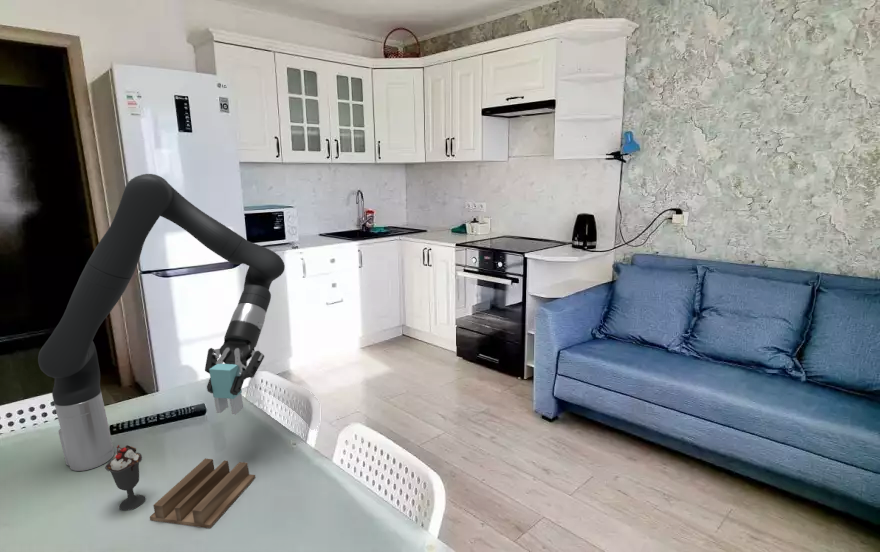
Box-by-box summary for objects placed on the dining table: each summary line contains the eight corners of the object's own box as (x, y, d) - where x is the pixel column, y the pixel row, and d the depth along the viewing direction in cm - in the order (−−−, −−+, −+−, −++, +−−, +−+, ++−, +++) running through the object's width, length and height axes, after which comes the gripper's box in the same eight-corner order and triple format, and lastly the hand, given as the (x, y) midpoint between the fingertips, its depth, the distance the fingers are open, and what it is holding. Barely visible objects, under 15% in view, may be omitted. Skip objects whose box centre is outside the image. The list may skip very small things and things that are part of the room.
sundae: (124, 517, 102) (110, 453, 98) (108, 506, 105) (94, 444, 102) (156, 498, 107) (144, 437, 104) (140, 489, 111) (127, 429, 107)
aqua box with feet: (215, 413, 114) (209, 369, 111) (224, 406, 117) (218, 363, 114) (235, 414, 113) (229, 370, 110) (244, 407, 116) (238, 364, 113)
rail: (150, 520, 101) (146, 504, 100) (201, 472, 116) (199, 457, 115) (210, 528, 98) (207, 512, 97) (255, 477, 113) (253, 463, 112)
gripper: (211, 317, 119) (184, 385, 110) (265, 320, 116) (242, 390, 107) (228, 331, 125) (203, 396, 116) (279, 333, 122) (258, 400, 114)
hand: (222, 392), depth 112 cm, fingers closed on aqua box with feet, 5 cm apart
